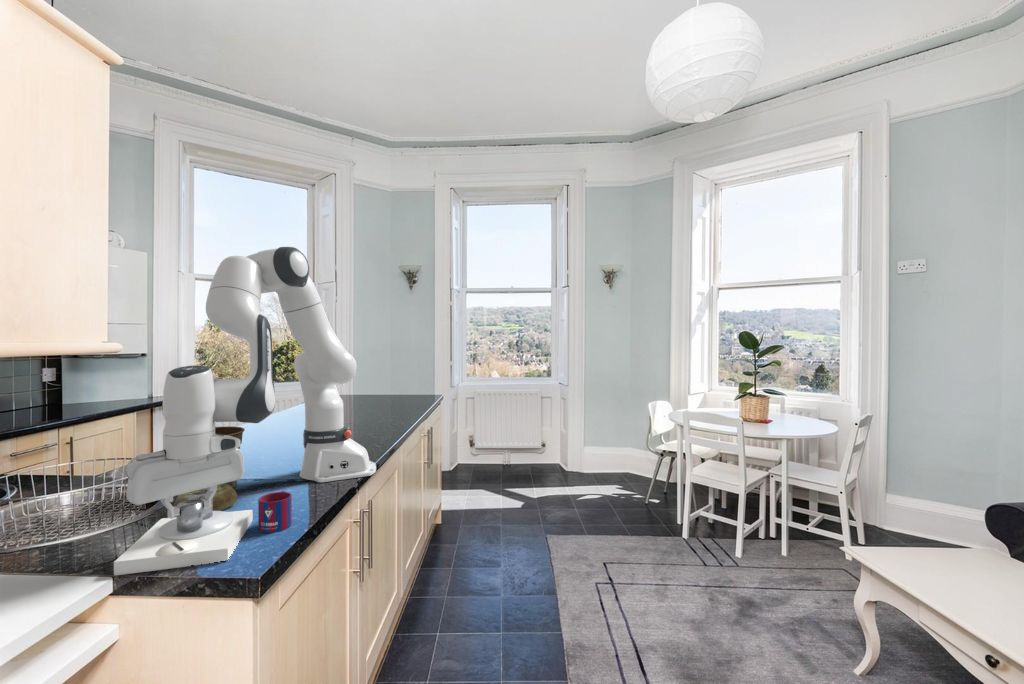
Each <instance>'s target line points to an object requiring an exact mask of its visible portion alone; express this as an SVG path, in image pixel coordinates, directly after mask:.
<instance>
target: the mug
mask: <svg viewBox="0 0 1024 684" xmlns="http://www.w3.org/2000/svg"><path fill="white" fill-rule="evenodd" d="M292 495H293V494H292V493H291V492H287V491H285V490H281V491H276V492H269V493H266V494H263V495H261V496H260V497H258V501H257V503H258V507H257V508H258V512H257V513H258V516H257V517H258V531H259V532H261V533H265V534H267V533H269V534H271V533H278V532H281V530H282V531H284V530H286V529H289V528H290V527H291V526H292V523H293V518H292V517H293V514H292V513H293V511H292V507H293V506H292V505H293V501H292V500H293V499H292Z"/></svg>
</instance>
